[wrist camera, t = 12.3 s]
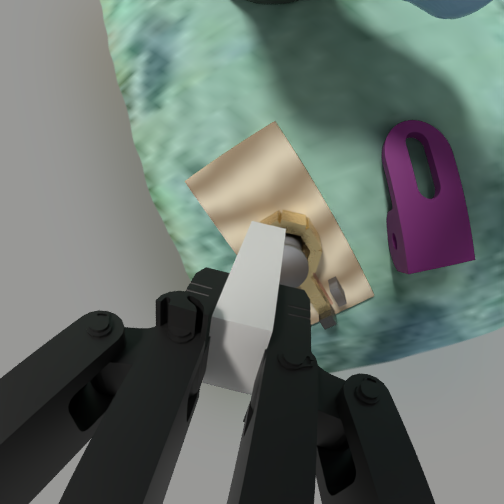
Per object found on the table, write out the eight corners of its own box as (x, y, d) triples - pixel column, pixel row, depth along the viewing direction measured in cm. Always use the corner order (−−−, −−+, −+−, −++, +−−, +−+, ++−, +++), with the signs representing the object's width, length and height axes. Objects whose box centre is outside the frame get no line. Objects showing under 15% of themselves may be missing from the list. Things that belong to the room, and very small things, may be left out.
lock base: (187, 179, 39) (159, 196, 31) (275, 121, 34) (269, 121, 26) (293, 327, 47) (290, 367, 39) (372, 291, 42) (385, 329, 34)
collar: (242, 231, 40) (236, 245, 36) (297, 199, 37) (297, 210, 33) (303, 318, 45) (303, 338, 40) (353, 294, 42) (358, 314, 38)
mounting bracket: (367, 146, 39) (392, 270, 39) (375, 123, 31) (408, 274, 30) (423, 140, 37) (449, 258, 36) (441, 118, 29) (475, 259, 28)
